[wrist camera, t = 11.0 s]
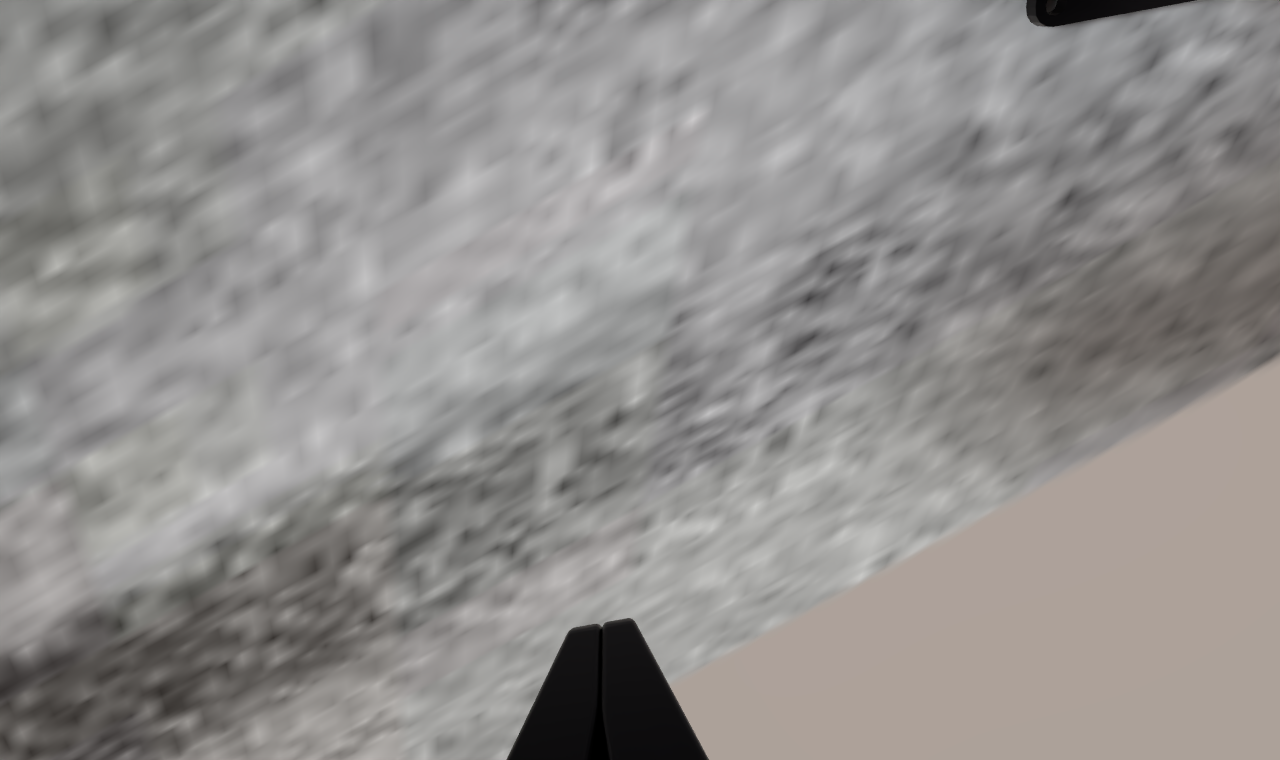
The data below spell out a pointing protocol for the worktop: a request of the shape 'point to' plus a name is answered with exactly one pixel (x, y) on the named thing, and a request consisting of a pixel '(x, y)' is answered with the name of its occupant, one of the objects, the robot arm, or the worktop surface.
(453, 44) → the worktop surface
